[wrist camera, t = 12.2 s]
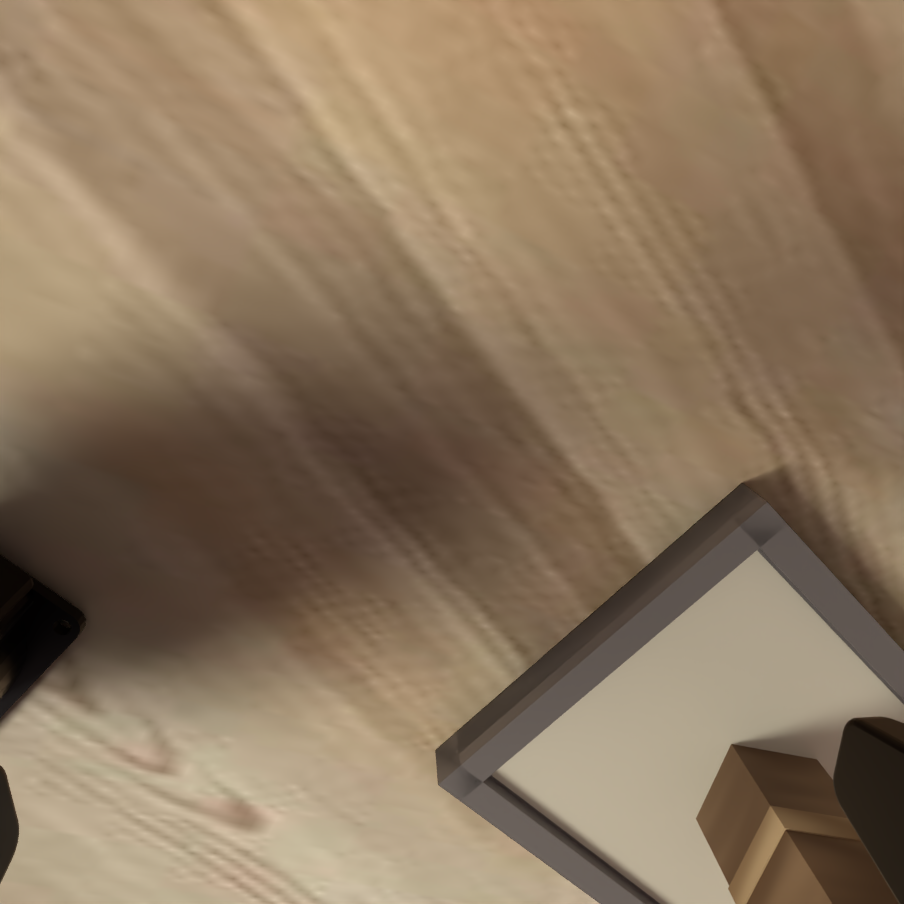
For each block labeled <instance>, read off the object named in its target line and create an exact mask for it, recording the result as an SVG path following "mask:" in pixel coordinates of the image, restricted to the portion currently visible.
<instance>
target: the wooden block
mask: <svg viewBox="0 0 904 904" xmlns="http://www.w3.org/2000/svg"><path fill="white" fill-rule="evenodd" d="M696 820H697V822H698V824H699V826H700V828H701V830H702V832H703V834H704V836H705V838H706V840H707V842H708V844H709V846H710V848H711V850H712V852H713V854H714V856H715V858H716V860H717V862H718V864H719V866H720V868H721V870H722V872H723V874H724V876H725V878H726V880H727V882H728V884H729V887H728V890H729V892H730V894H731V896H732V898H733V900H734V902H735V904H899V903H898V902H897V900H896V898H895V897H894V895H893V893H892V892H891V890H890V888H889V887H888V885H887V883H886V882H885V880H884V878H883V877H882V875H881V873H880V871H879V870H878V868H877V866H876V865H875V863H874V861H873V860H872V858H871V856H870V855H869V853H868V851H867V850H866V848H865V846H864V845H863V843H862V841H861V840H860V838H859V836H858V835H857V833H856V831H855V830H854V828H853V826H852V825H851V823H850V821H849V820H848V818H847V816H846V815H845V813H844V811H843V810H842V808H841V806H840V804H839V802H838V800H837V797H836V795H835V791H834V786H833V779H832V778H831V777H830V775H829V774H828V773H827V772H826V770H825V769H824V768H823V766H822V765H821V764H820V763H819V761H818V760H817V759H813V758H807V757H801V756H796V755H790V754H785V753H779V752H773V751H768V750H762V749H757V748H751V747H746V746H740V745H734V744H731V745H730V748H729V750H728V752H727V754H726V756H725V758H724V760H723V762H722V764H721V767H720V769H719V771H718V773H717V775H716V777H715V779H714V781H713V783H712V785H711V788H710V790H709V792H708V794H707V796H706V798H705V800H704V802H703V804H702V807H701V809H700V811H699V813H698V815H697V817H696Z"/></svg>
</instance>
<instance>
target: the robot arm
mask: <svg viewBox="0 0 904 904" xmlns="http://www.w3.org/2000/svg"><path fill="white" fill-rule="evenodd" d="M59 620H64V621H67V622H68V623H69V624H70V625H71V627H65V626H63V625H62V624H61V623H60V621H59ZM85 625H86V619H85V616H84V614H83V613H82V612H81V611H80V610H79V609H78V608H76V607H75V606H73V605H72V604H71V603H69V602H68V601H66V600H65V599H63V598H62V597H60V596H59V595H58V594H56V593H55V592H53V591H52V590H50V589H49V588H47V587H46V586H45V585H43V584H42V583H40V582H39V581H37V580H36V579H34V578H33V577H32V576H30V575H29V574H28V573H26V572H25V571H23V570H22V569H20V568H19V567H18V566H16V565H15V564H13V563H12V562H10V561H9V560H7V559H6V558H5V557H3V556H2V555H0V718H1V716H2V715H3V714H4V713H5V712H6V711H7V710H8V709H9V708H10V707H11V706H12V705H13V704H14V703H15V702H16V701H17V700H18V699H19V698H20V697H21V696H22V694H23V693H24V692H25V691H26V690H27V689H28V688H29V687H30V686H31V685H32V684H33V683H34V682H35V681H36V680H37V679H38V678H39V677H40V676H41V675H42V674H43V673H44V671H45V670H46V669H47V668H48V667H49V666H50V665H51V664H52V663H53V662H54V661H55V660H56V659H57V658H58V657H59V656H60V655H61V654H62V653H63V652H64V651H65V649H66V648H67V647H68V646H69V645H70V644H71V643H72V642H73V641H74V640H75V639H76V638H77V637H78V635H79V634H80V633H81V631H82V630H83V628H84V627H85ZM833 786H834V791H835V795H836V797H837V800H838V802H839V804H840V806H841V808H842V810H843V811H844V813H845V815H846V816H847V818H848V820H849V821H850V823H851V825H852V826H853V828H854V830H855V831H856V833H857V835H858V836H859V838H860V840H861V841H862V843H863V845H864V846H865V848H866V850H867V851H868V853H869V855H870V856H871V858H872V860H873V861H874V863H875V865H876V866H877V868H878V870H879V871H880V873H881V875H882V877H883V878H884V880H885V882H886V883H887V885H888V887H889V888H890V890H891V892H892V893H893V895H894V897H895V898H896V900H897V902H898V903H899V904H904V723H902V722H900V721H897V720H894V719H891V718H887V717H882V716H878V717H859V718H852V719H851V720H849V721H848V722H847V723H846V724H845V726H844V729H843V733H842V738H841V742H840V747H839V751H838V755H837V760H836V764H835V769H834V774H833ZM18 837H19V824H18V818H17V815H16V811H15V807H14V803H13V799H12V795H11V791H10V787H9V783H8V779H7V775H6V773H5V770H4V769H3V767H2V766H0V883H1V881H2V879H3V877H4V875H5V873H6V871H7V869H8V866H9V864H10V862H11V860H12V858H13V855H14V853H15V850H16V847H17V843H18Z"/></svg>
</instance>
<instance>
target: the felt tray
mask: <svg viewBox="0 0 904 904" xmlns="http://www.w3.org/2000/svg"><path fill="white" fill-rule="evenodd" d="M878 716H882V717H887V718H891V719H894V720H897V721H900V722H902V723H904V651H903V650H902V649H901V648H900V647H899V646H898V644H897V643H896V642H895V641H894V640H893V639H892V638H891V637H890V636H889V635H888V634H887V632H886V631H885V630H884V629H883V628H882V627H881V626H880V625H879V624H878V623H877V621H876V620H875V619H874V618H873V617H872V616H871V615H870V614H869V613H868V612H867V611H866V609H865V608H864V607H863V606H862V605H861V604H860V603H859V602H858V601H857V600H856V599H855V597H854V596H853V595H852V594H851V593H850V592H849V591H848V590H847V589H846V588H845V587H844V585H843V584H842V583H841V582H840V581H839V580H838V579H837V578H836V577H835V576H834V575H833V573H832V572H831V571H830V570H829V569H828V568H827V567H826V566H825V565H824V564H823V562H822V561H821V560H820V559H819V558H818V557H817V556H816V555H815V554H814V553H813V552H812V550H811V549H810V548H809V547H808V546H807V545H806V544H805V543H804V542H803V541H802V540H801V538H800V537H799V536H798V535H797V534H796V533H795V532H794V531H793V530H792V529H791V528H790V526H789V525H788V524H787V523H786V522H785V521H784V520H783V519H782V518H781V517H780V516H779V514H778V513H777V512H776V511H775V510H774V509H773V508H772V507H771V506H770V505H769V503H768V502H766V501H765V500H764V499H763V498H761V497H760V496H759V495H757V494H756V493H755V492H754V491H752V490H751V489H750V488H748V487H747V486H746V485H745V484H743V483H742V484H741V485H739V486H738V487H737V488H736V489H735V490H734V491H732V492H731V493H730V494H729V495H728V496H727V497H726V498H724V499H723V500H722V501H721V502H720V503H719V504H718V505H716V506H715V507H714V508H713V509H712V510H711V511H710V512H708V513H707V514H706V515H705V516H704V517H703V518H701V519H700V520H699V521H698V522H697V523H696V524H695V525H693V526H692V527H691V528H690V529H689V530H688V531H687V532H685V533H684V534H683V535H682V536H681V537H680V538H679V539H677V540H676V541H675V542H674V543H673V544H672V545H671V546H669V547H668V548H667V549H666V550H665V551H664V552H662V553H661V554H660V555H659V556H658V557H657V558H656V559H654V560H653V561H652V562H651V563H650V564H649V565H648V566H646V567H645V568H644V569H643V570H642V571H641V572H640V573H638V574H637V575H636V576H635V577H634V578H633V579H632V580H630V581H629V582H628V583H627V584H626V585H625V586H623V587H622V588H621V589H620V590H619V591H618V592H617V593H615V594H614V595H613V596H612V597H611V598H610V599H609V600H607V601H606V602H605V603H604V604H603V605H602V606H601V607H599V608H598V609H597V610H596V611H595V612H594V613H592V614H591V615H590V616H589V617H588V618H587V619H586V620H584V621H583V622H582V623H581V624H580V625H579V626H578V627H576V628H575V629H574V630H573V631H572V632H571V633H570V634H568V635H567V636H566V637H565V638H564V639H563V640H562V641H560V642H559V643H558V644H557V645H556V646H555V647H553V648H552V649H551V650H550V651H549V652H548V653H547V654H545V655H544V656H543V657H542V658H541V659H540V660H539V661H537V662H536V663H535V664H534V665H533V666H532V667H531V668H529V669H528V670H527V671H526V672H525V673H524V674H523V675H521V676H520V677H519V678H518V679H517V680H516V681H514V682H513V683H512V684H511V685H510V686H509V687H508V688H506V689H505V690H504V691H503V692H502V693H501V694H500V695H498V696H497V697H496V698H495V699H494V700H493V701H492V702H490V703H489V704H488V705H487V706H486V707H485V708H483V709H482V710H481V711H480V712H479V713H478V714H477V715H475V716H474V717H473V718H472V719H471V720H470V721H469V722H467V723H466V724H465V725H464V726H463V727H462V728H461V729H459V730H458V731H457V732H456V733H455V734H454V735H453V736H451V737H450V738H449V739H448V740H447V741H446V742H444V743H443V744H442V745H441V746H440V747H439V748H438V749H436V750H435V751H436V764H437V778H438V785H439V786H440V787H442V788H443V789H444V790H446V791H447V792H449V793H450V794H451V795H453V796H454V797H455V798H457V799H458V800H459V801H461V802H462V803H464V804H465V805H466V806H468V807H469V808H470V809H472V810H473V811H474V812H476V813H477V814H479V815H480V816H481V817H483V818H484V819H485V820H487V821H488V822H489V823H491V824H492V825H494V826H495V827H496V828H498V829H499V830H500V831H502V832H503V833H504V834H506V835H507V836H509V837H510V838H511V839H513V840H514V841H515V842H517V843H518V844H520V845H521V846H522V847H524V848H525V849H526V850H528V851H529V852H530V853H532V854H533V855H535V856H536V857H537V858H539V859H540V860H541V861H543V862H544V863H545V864H547V865H548V866H550V867H551V868H552V869H554V870H555V871H556V872H558V873H559V874H560V875H562V876H563V877H565V878H566V879H567V880H569V881H570V882H571V883H573V884H574V885H575V886H577V887H578V888H580V889H581V890H582V891H584V892H585V893H586V894H588V895H589V896H590V897H592V898H593V899H595V900H596V901H597V902H599V903H600V904H735V902H734V900H733V898H732V896H731V894H730V892H729V890H728V887H729V884H728V882H727V880H726V878H725V876H724V874H723V872H722V870H721V868H720V866H719V864H718V862H717V860H716V858H715V856H714V854H713V852H712V850H711V848H710V846H709V844H708V842H707V840H706V838H705V836H704V834H703V832H702V830H701V828H700V826H699V824H698V822H697V820H696V817H697V815H698V813H699V811H700V809H701V807H702V804H703V802H704V800H705V798H706V796H707V794H708V792H709V790H710V788H711V785H712V783H713V781H714V779H715V777H716V775H717V773H718V771H719V769H720V767H721V764H722V762H723V760H724V758H725V756H726V754H727V752H728V750H729V748H730V745H731V744H734V745H740V746H746V747H751V748H757V749H762V750H768V751H773V752H779V753H785V754H790V755H796V756H801V757H807V758H813V759H817V760H818V761H819V763H820V764H821V765H822V766H823V768H824V769H825V770H826V772H827V773H828V774H829V775H830V777H831V778H832V779H833V774H834V769H835V764H836V760H837V755H838V751H839V747H840V742H841V738H842V733H843V729H844V726H845V724H846V723H847V722H848V721H849V720H851V719H852V718H859V717H878Z"/></svg>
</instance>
